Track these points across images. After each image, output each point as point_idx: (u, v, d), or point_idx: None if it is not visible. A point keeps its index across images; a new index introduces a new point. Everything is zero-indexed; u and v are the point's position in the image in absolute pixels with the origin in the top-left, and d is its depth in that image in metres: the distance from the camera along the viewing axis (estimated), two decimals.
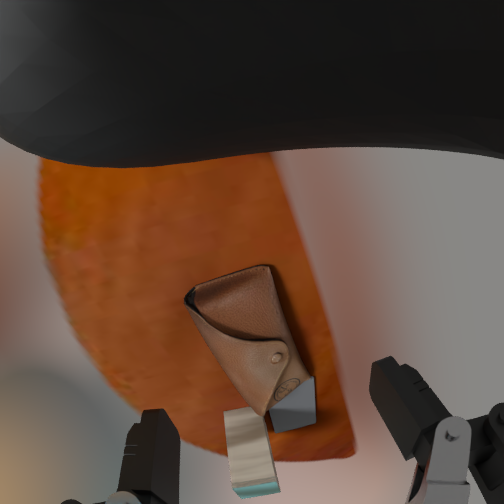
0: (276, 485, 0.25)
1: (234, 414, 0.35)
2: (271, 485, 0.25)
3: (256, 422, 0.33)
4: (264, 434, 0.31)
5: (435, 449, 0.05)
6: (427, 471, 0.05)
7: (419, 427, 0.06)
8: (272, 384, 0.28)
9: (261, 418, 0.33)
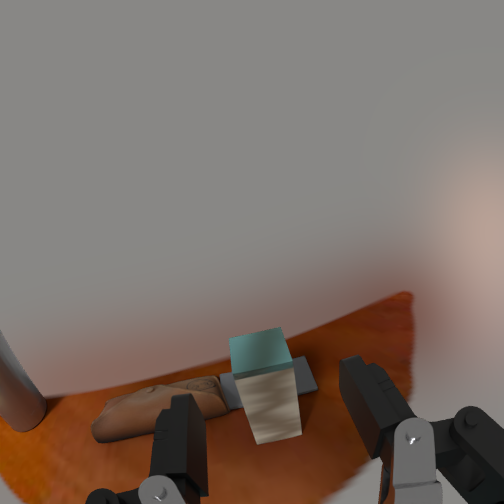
0: (245, 335, 0.27)
1: None
2: (245, 340, 0.26)
3: None
4: None
5: (397, 453, 0.06)
6: (392, 475, 0.05)
7: (379, 426, 0.07)
8: (169, 389, 0.31)
9: None
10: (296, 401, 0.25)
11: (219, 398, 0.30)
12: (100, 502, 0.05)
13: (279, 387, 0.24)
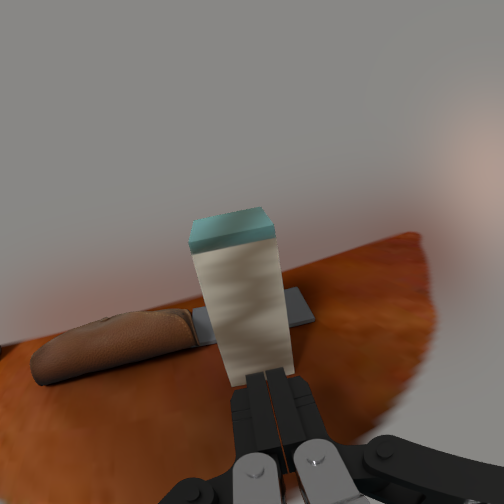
0: (215, 216, 0.21)
1: None
2: (214, 219, 0.21)
3: None
4: None
5: (304, 479, 0.06)
6: (309, 501, 0.05)
7: (282, 442, 0.07)
8: (125, 314, 0.26)
9: None
10: (284, 307, 0.19)
11: (183, 321, 0.24)
12: (191, 494, 0.05)
13: (256, 274, 0.18)
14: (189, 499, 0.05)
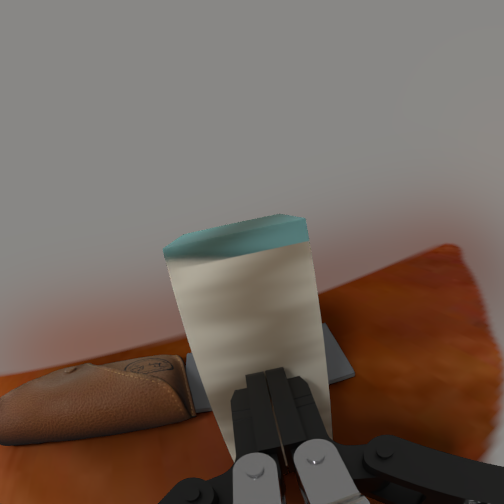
0: None
1: None
2: (211, 230, 0.14)
3: None
4: None
5: (304, 479, 0.06)
6: (309, 501, 0.05)
7: (282, 442, 0.07)
8: (93, 368, 0.17)
9: None
10: (322, 359, 0.11)
11: (170, 389, 0.15)
12: (191, 494, 0.05)
13: (278, 305, 0.10)
14: (189, 499, 0.05)
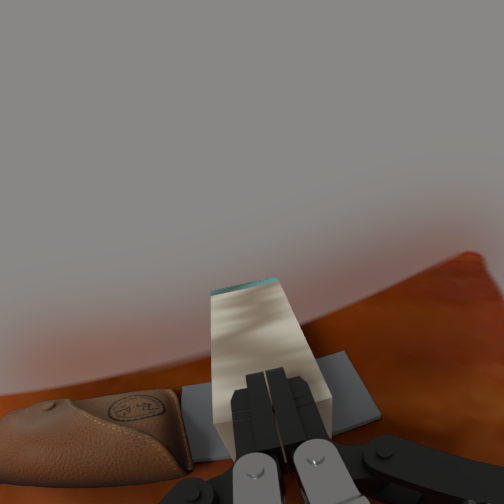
0: None
1: None
2: None
3: None
4: None
5: (304, 479, 0.06)
6: (309, 501, 0.05)
7: (282, 442, 0.07)
8: (71, 410, 0.13)
9: None
10: (293, 317, 0.17)
11: (161, 447, 0.11)
12: (191, 494, 0.05)
13: (263, 299, 0.19)
14: (189, 499, 0.05)
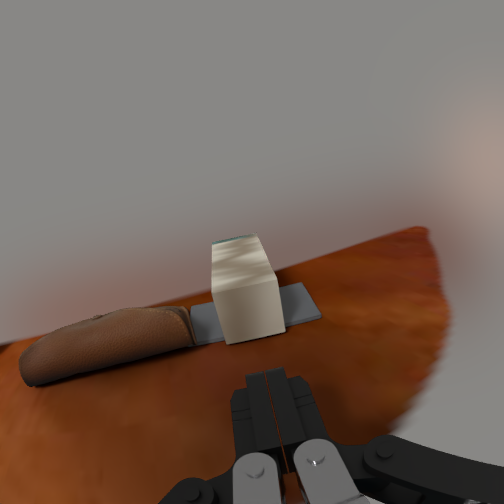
0: None
1: None
2: None
3: None
4: None
5: (304, 479, 0.06)
6: (309, 501, 0.05)
7: (282, 442, 0.07)
8: (118, 311, 0.24)
9: None
10: (262, 250, 0.28)
11: (179, 318, 0.22)
12: (191, 494, 0.05)
13: (245, 244, 0.30)
14: (189, 499, 0.05)
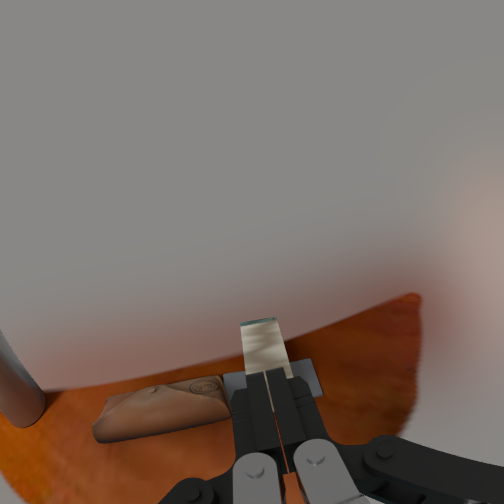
0: None
1: None
2: None
3: None
4: None
5: (305, 479, 0.06)
6: (309, 501, 0.05)
7: (282, 442, 0.07)
8: (172, 391, 0.31)
9: None
10: (282, 344, 0.34)
11: (223, 403, 0.29)
12: (191, 494, 0.05)
13: (268, 331, 0.37)
14: (189, 499, 0.05)
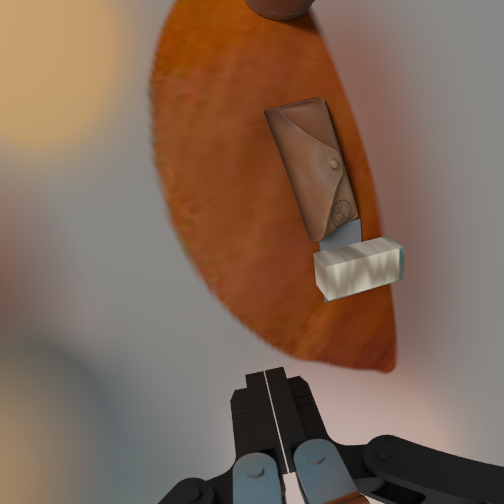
0: None
1: (327, 261, 0.37)
2: None
3: (334, 250, 0.40)
4: (346, 246, 0.41)
5: (304, 479, 0.06)
6: (309, 501, 0.05)
7: (282, 442, 0.07)
8: (332, 190, 0.34)
9: (329, 249, 0.41)
10: (370, 287, 0.38)
11: (319, 240, 0.36)
12: (191, 494, 0.05)
13: (387, 274, 0.38)
14: (189, 499, 0.05)
